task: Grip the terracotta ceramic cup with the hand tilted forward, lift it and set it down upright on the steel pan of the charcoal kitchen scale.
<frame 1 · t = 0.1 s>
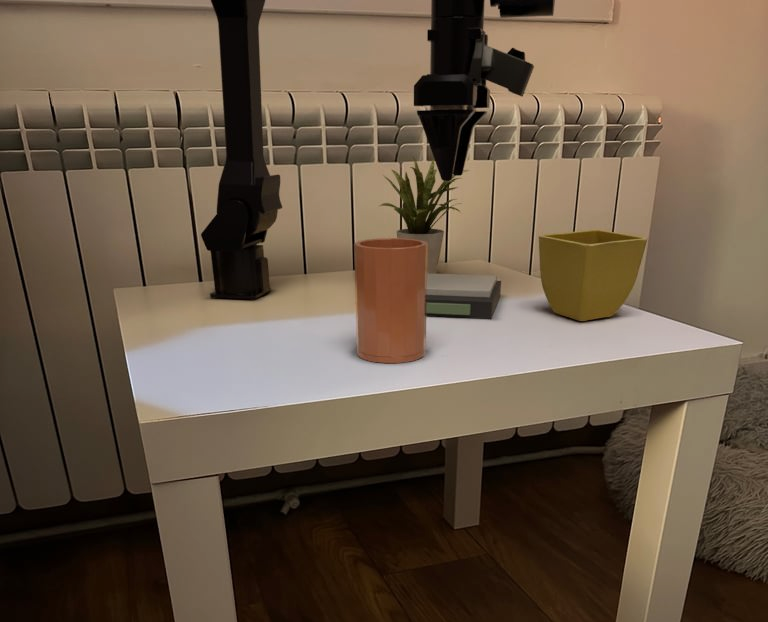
hand: (452, 177, 86), 15 cm above the table, tool pointing down, fingers open, 9 cm apart
house plant: (423, 277, 110), on the table
scale: (452, 305, 92), on the table
cup: (391, 353, 73), on the table
flower pot: (582, 317, 86), on the table
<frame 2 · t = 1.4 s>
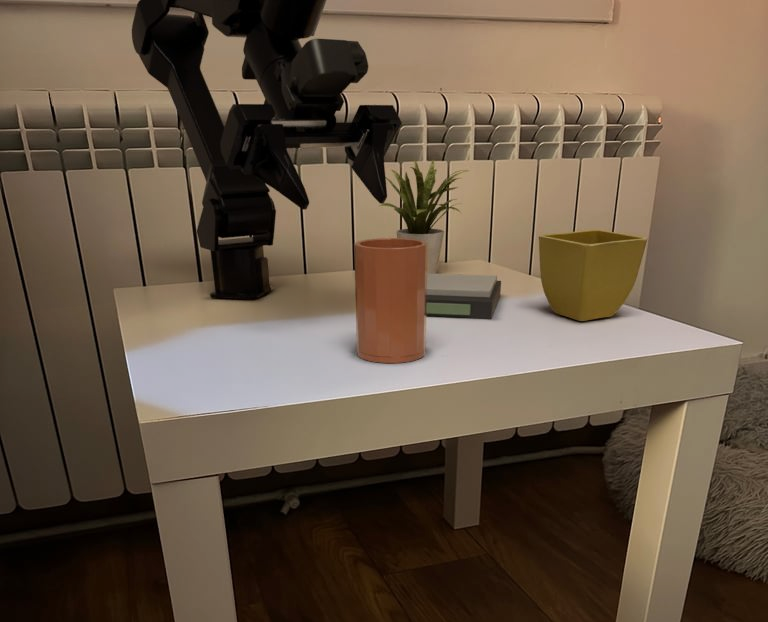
hand: (346, 203, 73), 13 cm above the table, tool tilted 45°, fingers open, 9 cm apart
nothing on the table moved.
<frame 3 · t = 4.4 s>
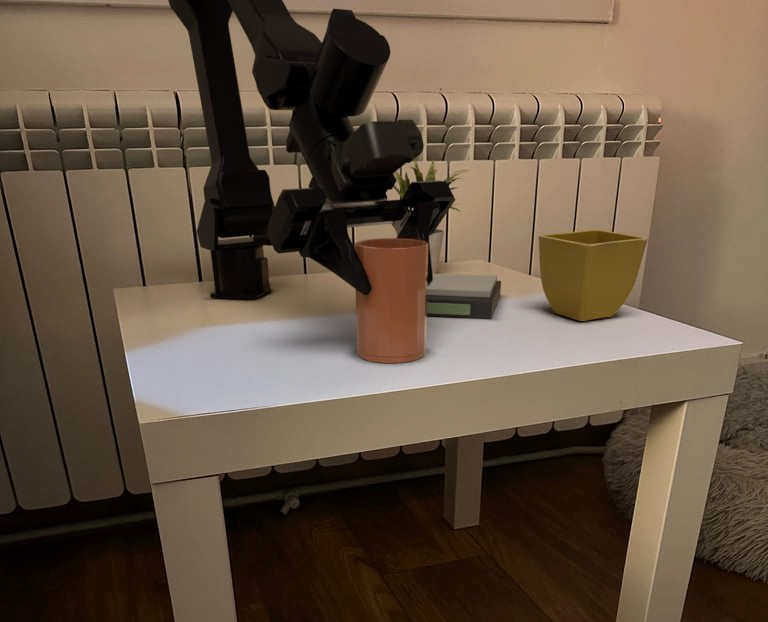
hand: (399, 288, 69), 7 cm above the table, tool tilted 45°, fingers closed on cup, 7 cm apart
cup: (391, 353, 73), on the table, touching gripper
everything else where it was.
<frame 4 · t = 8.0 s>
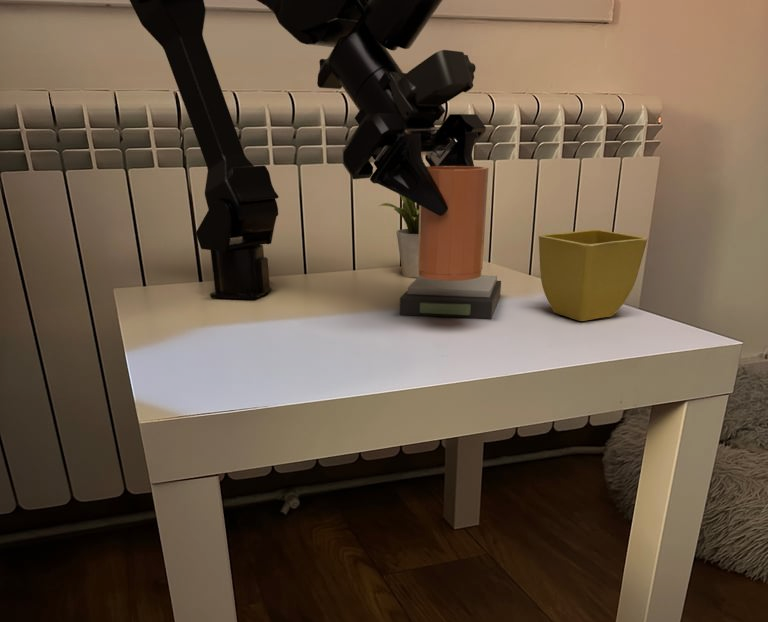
hand: (463, 209, 75), 13 cm above the table, tool tilted 45°, fingers closed on cup, 7 cm apart
cup: (449, 274, 79), point 6 cm above the table, touching gripper
everything else where it was.
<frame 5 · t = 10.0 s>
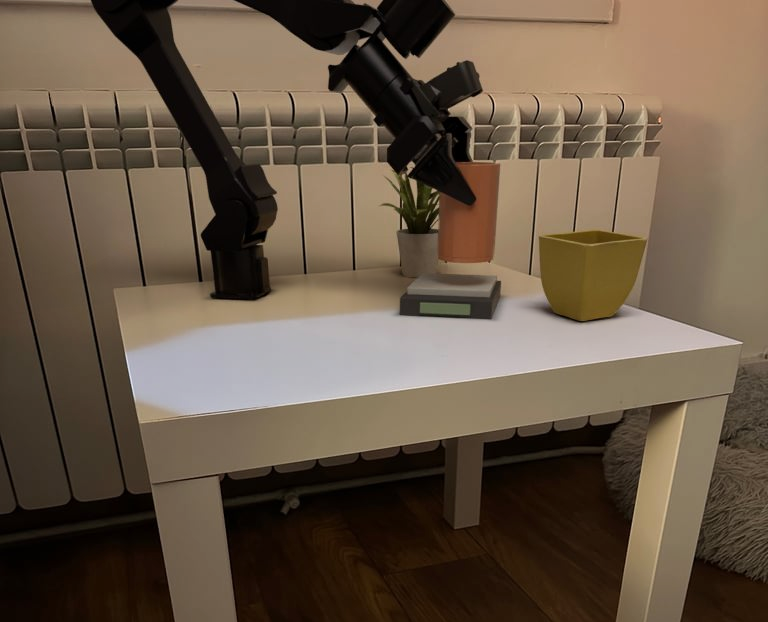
hand: (479, 200, 85), 12 cm above the table, tool tilted 45°, fingers closed on cup, 7 cm apart
cup: (465, 258, 89), point 6 cm above the table, touching gripper
everything else where it was.
when the fingers open (9 cm above the table, at t = 11.5 s): cup stays where it is, resting on scale.
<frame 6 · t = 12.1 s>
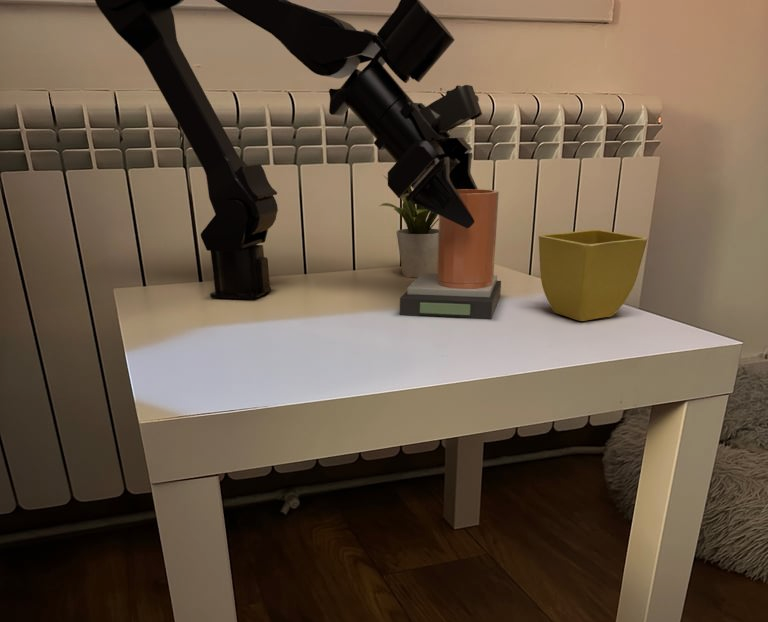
hand: (479, 220, 86), 10 cm above the table, tool tilted 45°, fingers open, 9 cm apart
cup: (464, 283, 90), point 3 cm above the table, touching scale
everything else where it was.
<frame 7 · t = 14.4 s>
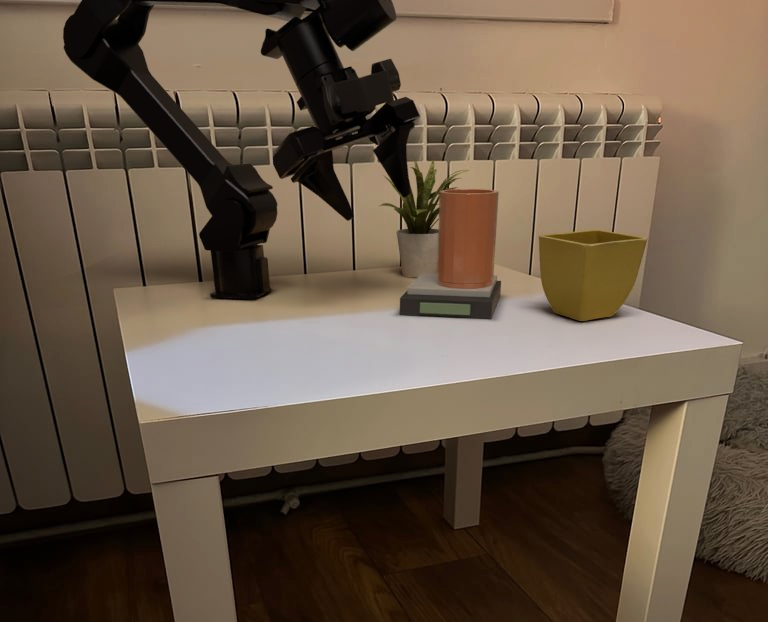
hand: (379, 207, 87), 12 cm above the table, tool tilted 30°, fingers open, 9 cm apart
nothing on the table moved.
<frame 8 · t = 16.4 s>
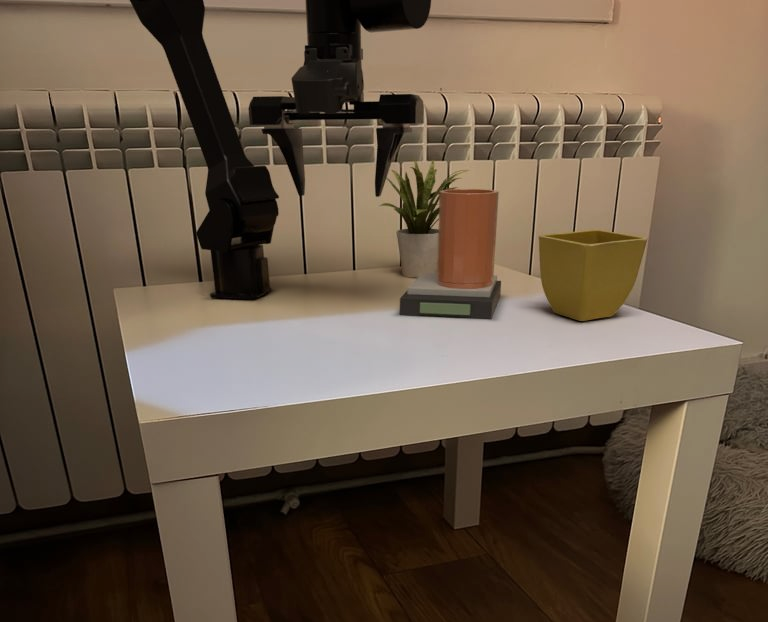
hand: (339, 196, 84), 13 cm above the table, tool pointing down, fingers open, 9 cm apart
nothing on the table moved.
at the end: cup inside the target area on the scale (1.6 cm from its centre), point 2.8 cm above the scale's base; cup tilted 0°; the gripper is holding nothing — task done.
